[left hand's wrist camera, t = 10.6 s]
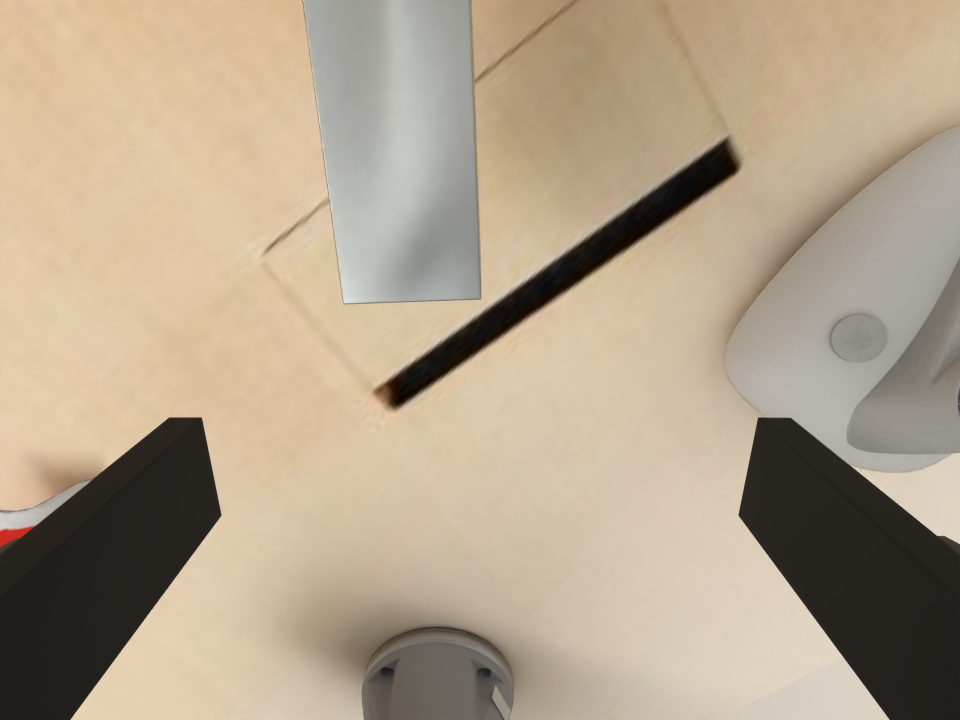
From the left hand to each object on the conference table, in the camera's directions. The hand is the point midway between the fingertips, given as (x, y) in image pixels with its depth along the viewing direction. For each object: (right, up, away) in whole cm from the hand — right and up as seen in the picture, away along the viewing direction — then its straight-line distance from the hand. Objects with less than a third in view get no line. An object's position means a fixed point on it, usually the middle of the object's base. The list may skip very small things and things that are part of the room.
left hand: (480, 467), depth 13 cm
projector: (+29, +8, +27) cm, 41 cm away
